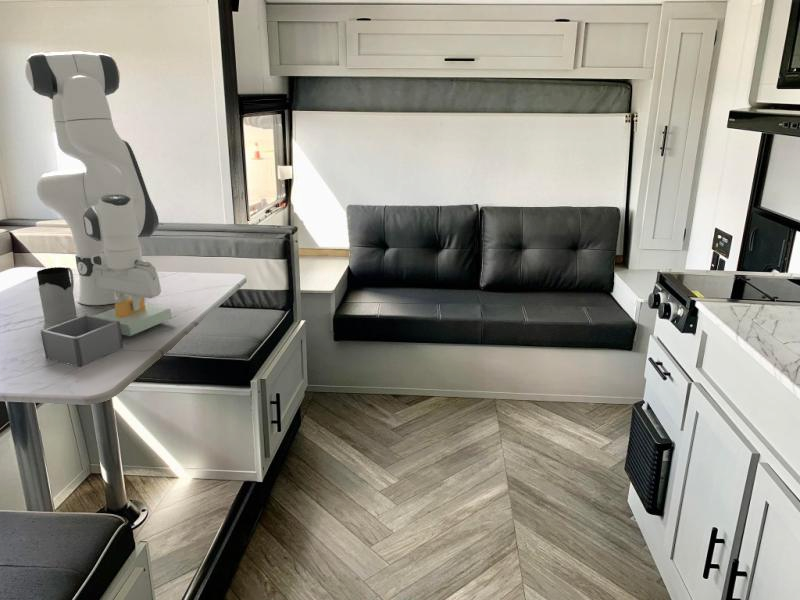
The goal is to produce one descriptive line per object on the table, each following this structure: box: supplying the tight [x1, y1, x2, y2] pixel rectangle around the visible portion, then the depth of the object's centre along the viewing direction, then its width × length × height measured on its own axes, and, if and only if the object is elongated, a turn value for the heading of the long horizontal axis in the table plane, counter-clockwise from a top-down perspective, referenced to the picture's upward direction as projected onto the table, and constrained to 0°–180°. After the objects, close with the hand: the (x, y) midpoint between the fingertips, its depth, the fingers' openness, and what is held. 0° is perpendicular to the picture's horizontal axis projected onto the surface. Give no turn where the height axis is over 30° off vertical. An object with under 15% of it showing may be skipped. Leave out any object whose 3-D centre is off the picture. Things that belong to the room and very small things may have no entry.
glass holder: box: [36, 266, 79, 329], centre depth 172 cm, size 9×14×15 cm, turn 2°
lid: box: [94, 297, 172, 337], centre depth 166 cm, size 14×13×6 cm
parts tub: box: [40, 314, 124, 368], centre depth 152 cm, size 13×12×7 cm
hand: (130, 308), depth 166 cm, fingers closed on lid
